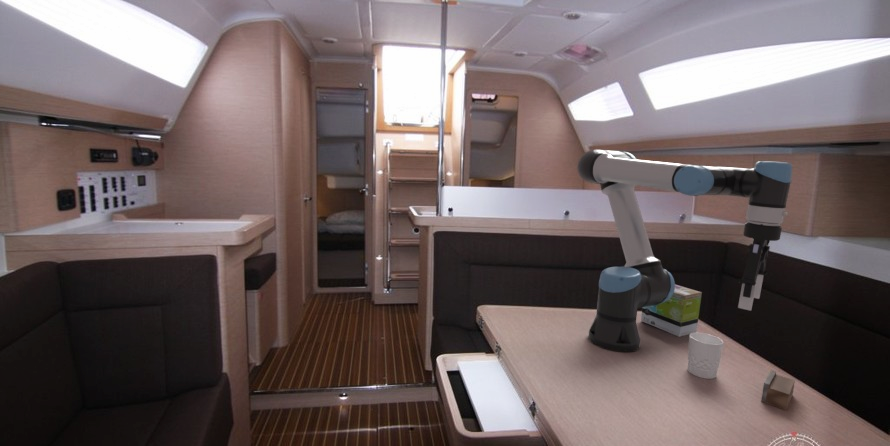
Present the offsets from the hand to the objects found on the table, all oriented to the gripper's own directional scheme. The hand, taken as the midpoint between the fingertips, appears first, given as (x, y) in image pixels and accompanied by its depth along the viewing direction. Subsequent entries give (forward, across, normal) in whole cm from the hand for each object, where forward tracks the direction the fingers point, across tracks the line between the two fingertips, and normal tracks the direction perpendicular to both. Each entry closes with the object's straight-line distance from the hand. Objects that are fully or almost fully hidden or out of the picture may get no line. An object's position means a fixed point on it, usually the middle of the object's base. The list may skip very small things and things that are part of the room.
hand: (749, 303), depth 110 cm
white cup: (+21, -5, +7) cm, 23 cm away
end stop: (+20, -6, -9) cm, 23 cm away
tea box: (+22, +25, +24) cm, 41 cm away
